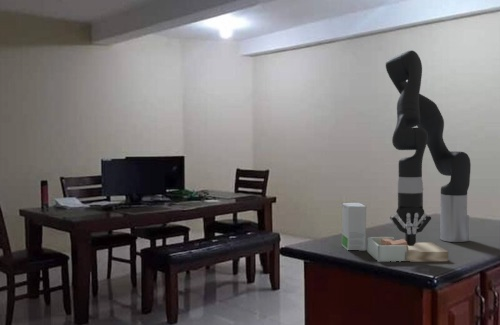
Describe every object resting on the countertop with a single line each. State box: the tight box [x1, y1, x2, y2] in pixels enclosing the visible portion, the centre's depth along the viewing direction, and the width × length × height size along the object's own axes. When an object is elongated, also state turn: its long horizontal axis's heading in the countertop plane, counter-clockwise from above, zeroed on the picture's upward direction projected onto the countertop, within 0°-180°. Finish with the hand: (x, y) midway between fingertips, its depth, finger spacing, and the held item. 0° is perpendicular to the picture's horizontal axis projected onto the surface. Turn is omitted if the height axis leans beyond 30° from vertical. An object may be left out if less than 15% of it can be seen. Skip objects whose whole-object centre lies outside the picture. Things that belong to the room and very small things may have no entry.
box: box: [366, 236, 407, 263], centre depth 159 cm, size 9×14×5 cm, turn 0°
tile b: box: [390, 238, 408, 250], centre depth 156 cm, size 4×4×2 cm
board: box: [407, 241, 449, 263], centre depth 159 cm, size 13×14×3 cm
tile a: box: [381, 239, 392, 246], centre depth 161 cm, size 4×4×2 cm
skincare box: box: [341, 202, 367, 251], centre depth 171 cm, size 8×7×16 cm
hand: (410, 245), depth 155 cm, fingers closed
